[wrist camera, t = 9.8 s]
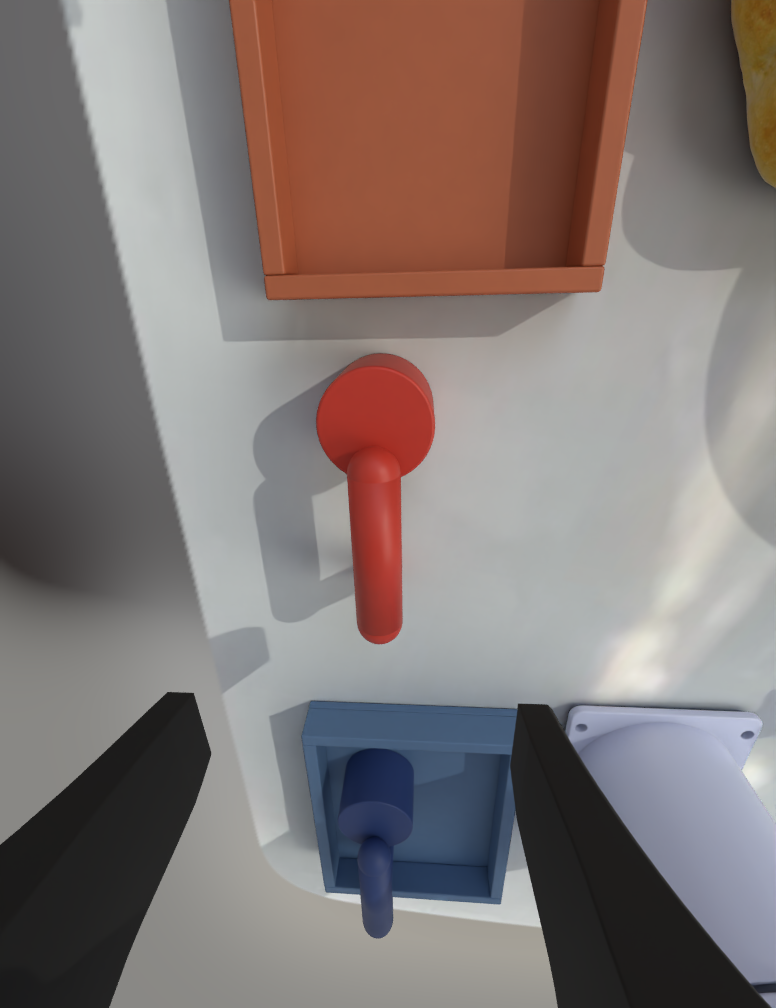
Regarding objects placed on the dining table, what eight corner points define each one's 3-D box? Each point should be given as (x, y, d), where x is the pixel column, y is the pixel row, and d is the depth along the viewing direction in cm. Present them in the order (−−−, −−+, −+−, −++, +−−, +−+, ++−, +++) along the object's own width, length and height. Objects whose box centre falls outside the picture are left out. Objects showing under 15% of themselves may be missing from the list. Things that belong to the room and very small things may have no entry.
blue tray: (495, 865, 26) (500, 905, 25) (331, 854, 27) (325, 892, 25) (517, 708, 21) (526, 746, 19) (310, 700, 22) (300, 736, 20)
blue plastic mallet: (413, 853, 26) (411, 947, 22) (353, 849, 26) (342, 941, 22) (414, 749, 22) (412, 841, 18) (343, 746, 22) (328, 836, 19)
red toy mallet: (429, 581, 18) (431, 655, 15) (345, 580, 18) (326, 652, 15) (434, 352, 14) (437, 374, 11) (327, 353, 15) (296, 376, 11)
